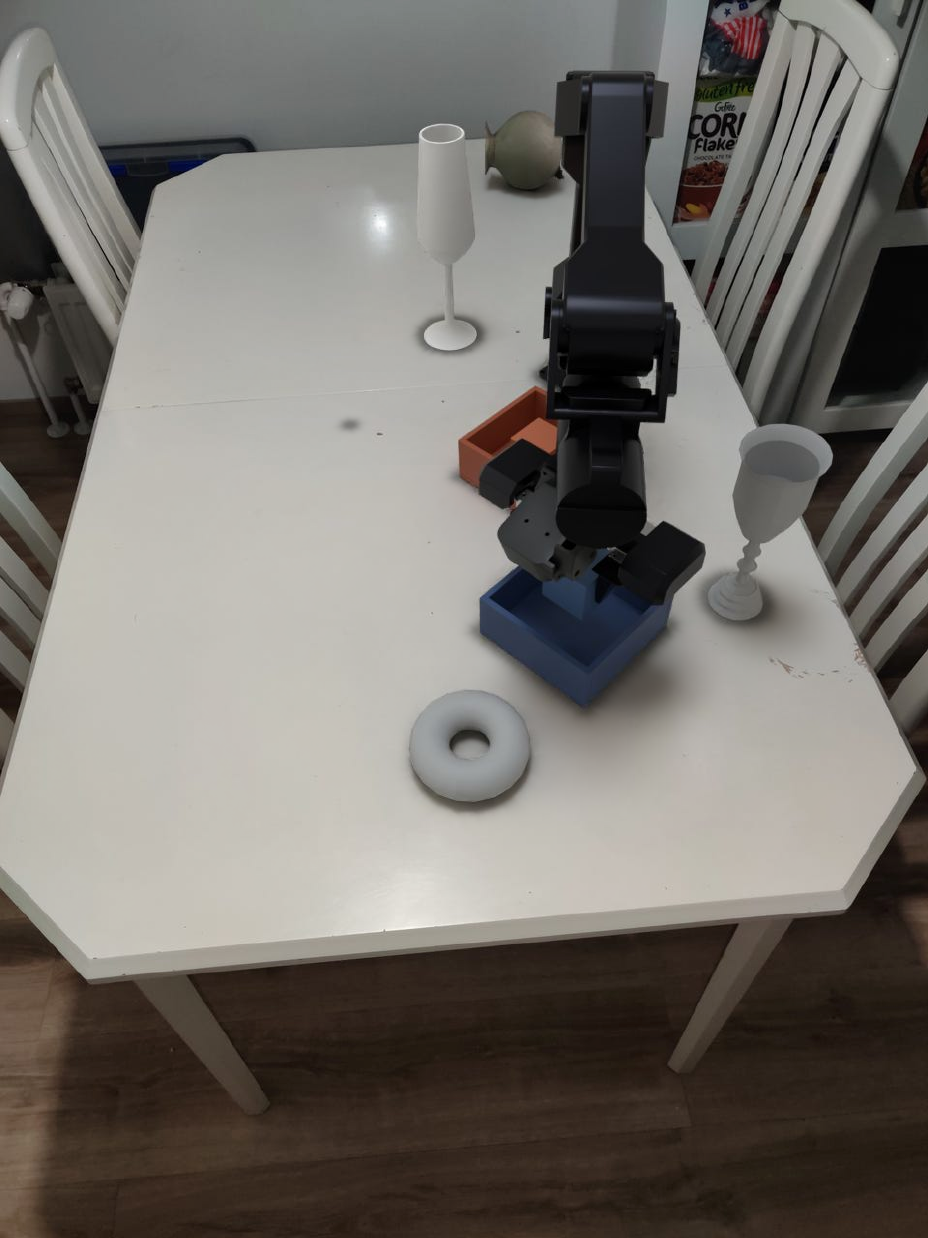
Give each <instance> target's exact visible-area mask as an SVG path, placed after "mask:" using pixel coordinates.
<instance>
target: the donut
mask: <svg viewBox="0 0 928 1238" xmlns="http://www.w3.org/2000/svg"><path fill="white" fill-rule="evenodd" d="M466 730H471V731H477V732H480V733H482V734H483V735H485V737H486V738H487V739H488V741H489V747H488V750H486V752H485V753H484V754H483V755H481V756H479V757H477V758H472V759H469V758H468V759H467V758H462V757H459V756H457V755H456V754H454V753H453V751H452V750H451V746H450V742H451V740H452V738H453V737H454V736H455V735H456V734H458V733H460V732H462V731H466ZM408 753H409V758H410V762H411V766H412V768H413V769H414V771H415V773H416V774H417V776H418V777H419V779H420V780H421V782H422V783H423V784H424V785H425V786H427V787H428V788H429V789H430V790H432V791H433V792H434V793H436V794H437V795H439V796H442V797H445V798H447V799H450V800H452V801H455V802H473V803H475V802H480V801H484V800H485V801H486V800H489V799H492V798H495V797H497V796H499V795H501V794H502V793H503V792H506V791H508V790H510V789H511V788H512V787H513V785H514V784H515V783H516V782H517V781H518V780H519V779H520V778H521V776H523V774H524V771H525V769H526V766H527V764H528V761H529V759H530V757H531V735H530V733H529V729H528V726H527V724H526V721H525V719H524V718H523V716H522V715H521V714H520V712H519V711H518V710H517V708H515V706H514V705H512V704H511V703H509V702H508V701H506V700H505V699H503V698H502V697H500V696H499V695H496V694H493V693H490V692H487V691H484V690H478V689H477V690H476V689H462V690H457V691H452V692H448V693H446V694H444V695H442V696H440V697H438V698H436V699H435V700H433V701H431V702H430V703H429V704H428V705H427V706H426V707H425V708H424V709H422V711H421V712H420V713H418V715H417V717H416V719H415V722H414V723H413V725H412V727H411V729H410V734H409V742H408Z"/></svg>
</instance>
